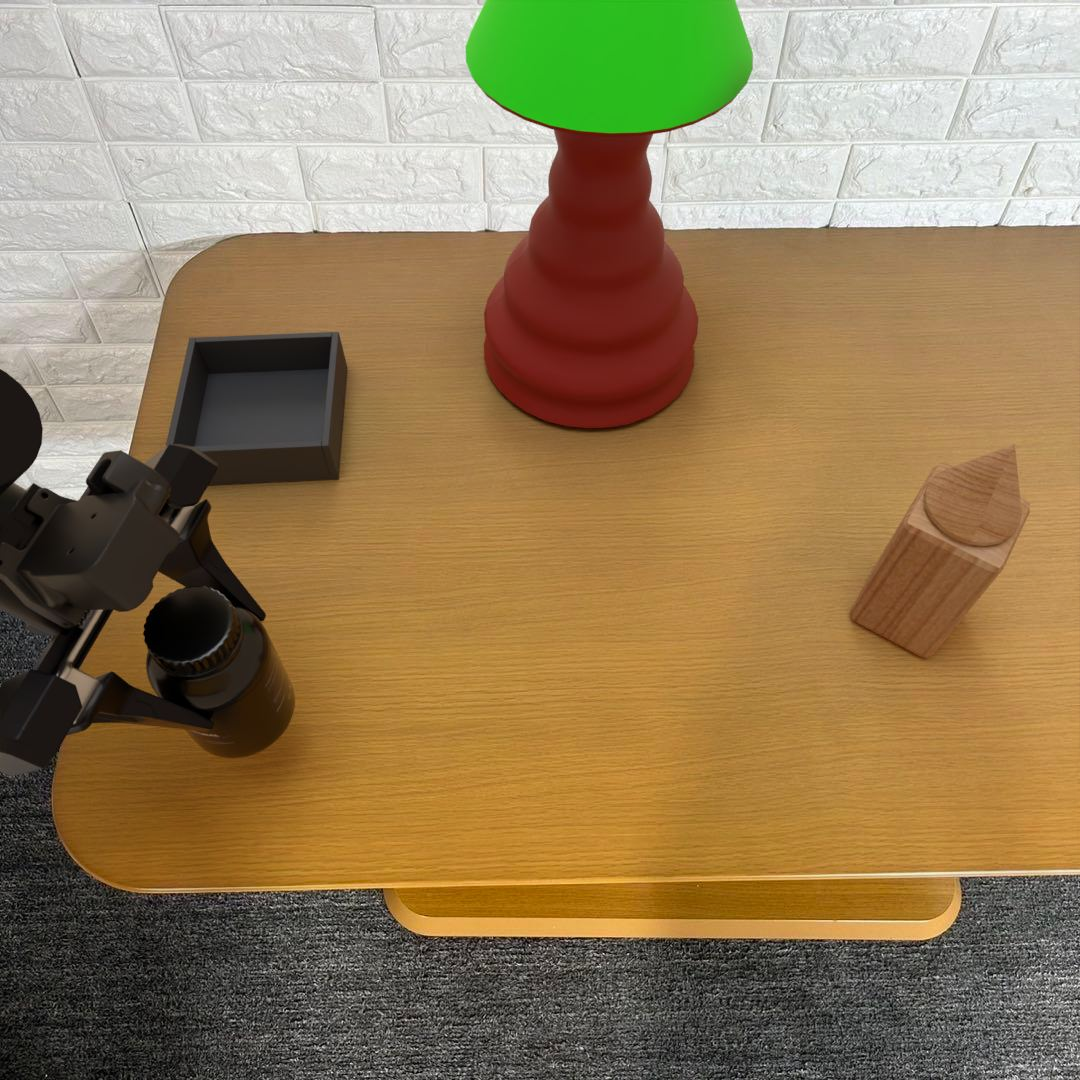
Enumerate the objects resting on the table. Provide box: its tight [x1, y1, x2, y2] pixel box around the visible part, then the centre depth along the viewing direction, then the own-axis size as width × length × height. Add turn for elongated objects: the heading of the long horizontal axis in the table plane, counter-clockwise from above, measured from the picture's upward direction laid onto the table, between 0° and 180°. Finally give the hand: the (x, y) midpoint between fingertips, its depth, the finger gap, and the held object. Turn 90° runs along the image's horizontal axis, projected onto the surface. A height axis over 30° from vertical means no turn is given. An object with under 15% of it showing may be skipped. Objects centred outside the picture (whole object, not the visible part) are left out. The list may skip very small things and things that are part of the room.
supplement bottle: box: [142, 586, 296, 759], centre depth 53 cm, size 7×7×12 cm
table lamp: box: [465, 0, 754, 429], centre depth 66 cm, size 20×20×45 cm
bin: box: [164, 331, 348, 486], centre depth 78 cm, size 13×13×4 cm
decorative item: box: [849, 443, 1031, 659], centre depth 61 cm, size 7×7×20 cm
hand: (237, 672), depth 52 cm, fingers closed on supplement bottle, 7 cm apart
